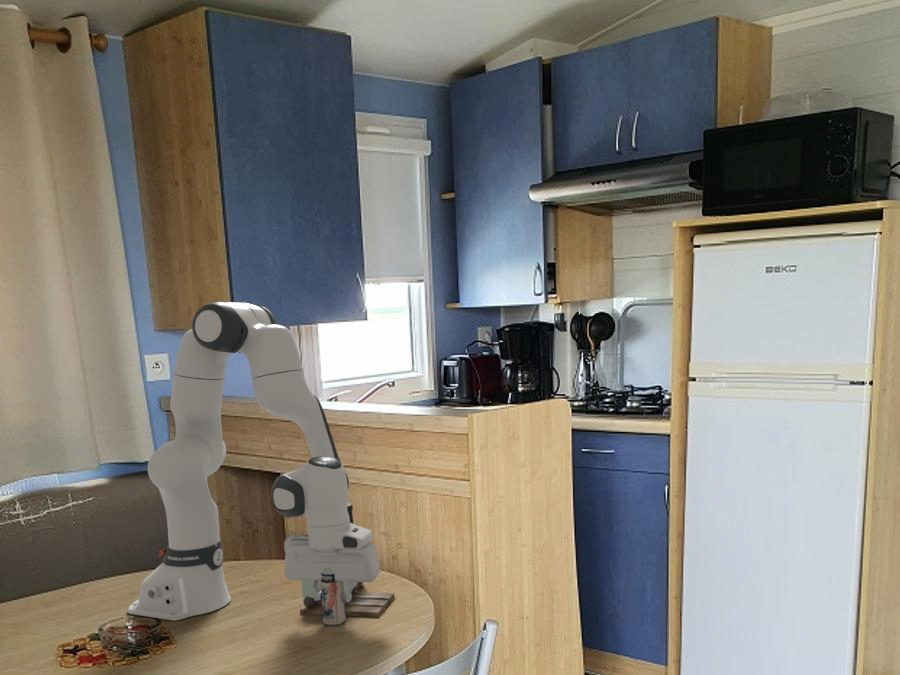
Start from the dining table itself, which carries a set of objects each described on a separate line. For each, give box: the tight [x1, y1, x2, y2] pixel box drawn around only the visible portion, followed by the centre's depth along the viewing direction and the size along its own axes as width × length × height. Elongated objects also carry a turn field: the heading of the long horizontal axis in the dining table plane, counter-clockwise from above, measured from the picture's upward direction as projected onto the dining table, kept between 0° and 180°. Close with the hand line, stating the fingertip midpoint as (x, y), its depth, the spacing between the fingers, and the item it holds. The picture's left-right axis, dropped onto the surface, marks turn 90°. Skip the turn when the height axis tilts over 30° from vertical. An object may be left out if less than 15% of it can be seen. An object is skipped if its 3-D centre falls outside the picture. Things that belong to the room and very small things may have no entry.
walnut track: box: [299, 591, 395, 618], centre depth 164 cm, size 18×11×1 cm, turn 76°
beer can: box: [321, 568, 347, 627], centre depth 155 cm, size 5×5×12 cm
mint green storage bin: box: [301, 580, 358, 608], centre depth 165 cm, size 9×9×7 cm
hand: (333, 600), depth 155 cm, fingers closed on beer can, 5 cm apart
